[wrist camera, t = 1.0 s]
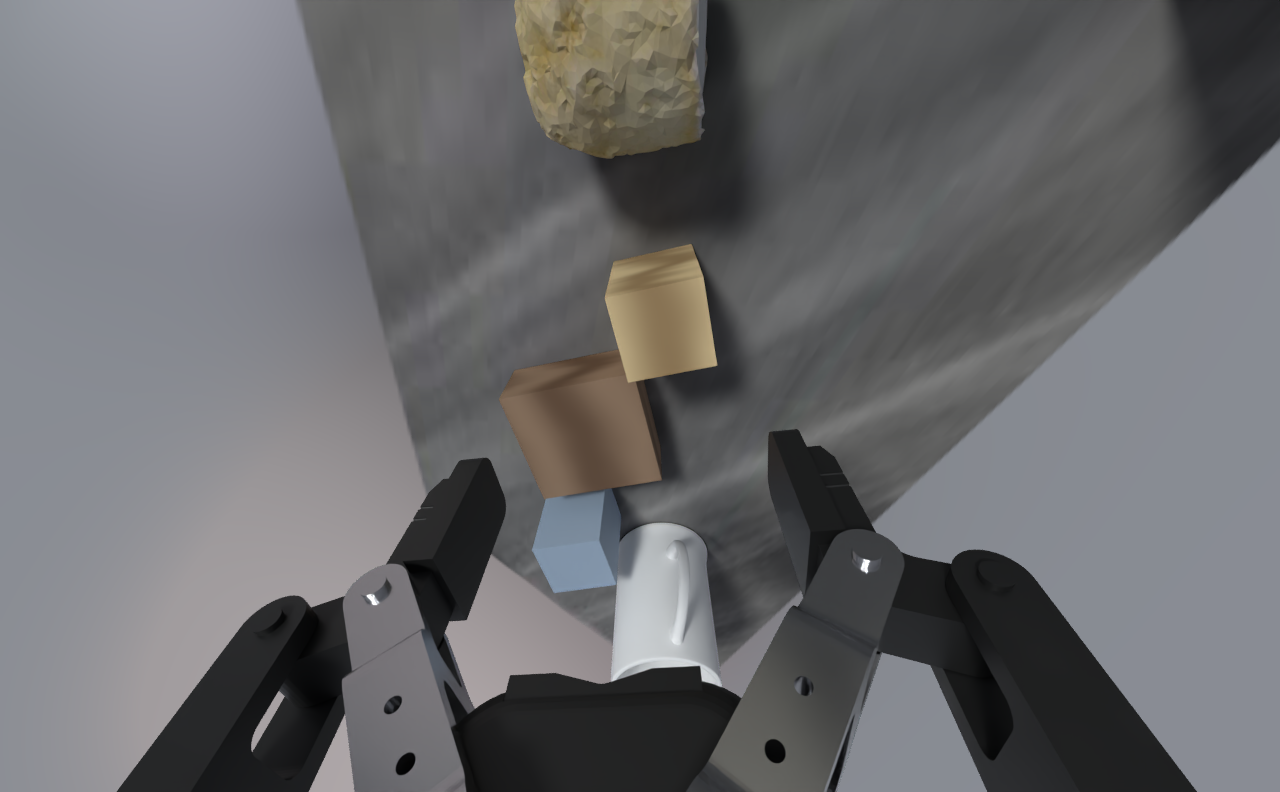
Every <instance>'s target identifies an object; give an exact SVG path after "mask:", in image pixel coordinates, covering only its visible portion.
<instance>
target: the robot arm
mask: <svg viewBox="0 0 1280 792" xmlns="http://www.w3.org/2000/svg"><path fill="white" fill-rule="evenodd" d="M768 483H769V489H770V494H771V498H772V501H773V504H774V507H775V510H776V513H777V516H778V520H779V523H780V526H781V529H782V532H783V535H784V538H785V541H786V544H787V548H788V551H789V554H790V557H791V560H792V563H793V566H794V569H795V573H796V576H797V579H798V582H799V585H800V588H801V591H802V594H803V600H802V601H801V603H800V605H799V606H798V607H796V606H792V607H791V608H790V609H789V611H788V612H787V614H786V616H785V617H784V620H783V621H782V623H781V625H780V627H779V629H778V631H777V633H776V634H775V636H774V638H773V640H772V642H771V644H770V646H769V648H768V650H767V652H766V653H765V655H764V657H763V659H762V661H761V663H760V665H759V667H758V668H757V670H756V672H755V674H754V676H753V678H752V680H751V682H750V683H749V685H748V687H747V689H746V691H745V693H744V695H743V697H742V698H740V697H739V696H737V695H736V694H734V693H732V692H730V691H728V690H727V689H725V688H722V687H720V686H717V685H715V684H712V683H708V682H704V681H702V677H701V668H700V666H686V667H666V668H651V669H648V670H645V671H642V672H639V673H636V674H633V675H630V676H627V677H624V678H621V679H618V680H615V681H612V682H609V683H605V684H597V683H593V682H589V681H585V680H581V679H577V678H573V677H569V676H565V675H561V674H556V673H549V674H530V675H511V676H510V678H509V682H508V686H507V690H506V693H503V694H500V695H498V696H496V697H494V698H492V699H490V700H488V701H486V702H485V703H483V704H481V705H480V706H478V707H477V708H476V709H475V708H474V706H473V704H472V702H471V700H470V697H469V695H468V692H467V690H466V687H465V685H464V681H463V679H462V676H461V674H460V671H459V668H458V665H457V662H456V660H455V657H454V654H453V651H452V649H451V646H450V643H449V640H448V638H447V636H446V634H445V630H446V627H447V625H448V623H449V621H461V620H467V617H468V615H469V612H470V609H471V607H472V604H473V601H474V599H475V596H476V593H477V591H478V588H479V585H480V582H481V580H482V577H483V574H484V572H485V568H486V566H487V563H488V561H489V558H490V555H491V553H492V550H493V547H494V545H495V542H496V539H497V536H498V534H499V531H500V528H501V526H502V523H503V520H504V517H505V512H506V502H505V497H504V494H503V491H502V489H501V486H500V484H499V481H498V479H497V476H496V474H495V471H494V468H493V466H492V463H491V461H490V460H489V459H488V458H478V459H468V460H461V461H459V462H458V464H457V465H456V467H455V469H454V470H453V472H452V474H451V476H450V478H449V479H443V480H442V481H441V482H440V483H439V484H438V485H437V486H435V487H434V488H433V489H432V490H431V491H430V492H429V493H428V495H427V497H426V498H425V500H424V502H423V503H422V505H421V509H420V510H418V512H417V513H416V515H415V517H414V521H413V522H411V524H410V525H409V527H408V528H407V530H406V532H405V534H404V535H403V537H402V539H401V540H400V542H399V544H398V545H397V547H396V549H395V550H394V552H393V554H392V556H391V557H390V559H389V561H388V562H387V564H386V565H382V566H379V567H377V568H374V569H372V570H371V571H369V572H367V573H366V574H364V575H363V576H362V577H360V578H359V579H358V580H357V581H356V582H355V583H354V584H353V585H352V586H351V587H350V589H349V590H348V591H347V593H346V595H345V596H344V597H341V598H338V599H335V600H332V601H329V602H326V603H323V604H320V605H317V606H315V607H312V608H311V607H310V606H309V604H308V603H307V602H306V601H305V600H304V599H303V598H302V597H300V596H287V597H283V598H280V599H278V600H275V601H273V602H271V603H269V604H267V605H266V606H264V607H262V608H261V609H260V610H258V611H257V612H256V613H254V614H253V615H252V616H251V617H250V618H249V619H248V620H247V621H246V622H245V623H244V624H243V625H242V627H241V628H240V629H239V630H238V632H237V633H236V634H235V636H234V637H233V638H232V640H231V641H230V642H229V644H228V645H227V646H226V648H225V649H224V650H223V652H222V653H221V654H220V655H219V657H218V658H217V659H216V661H215V662H214V664H213V665H212V666H211V667H210V669H209V670H208V671H207V673H206V674H205V675H204V677H203V678H202V679H201V681H200V682H199V683H198V685H197V686H196V687H195V689H194V690H193V691H192V693H191V694H190V695H189V697H188V698H187V699H186V701H185V702H184V703H183V704H182V706H181V707H180V708H179V710H178V711H177V713H176V714H175V715H174V716H173V718H172V719H171V721H170V722H169V723H168V724H167V726H166V727H165V728H164V730H163V731H162V732H161V734H160V735H159V736H158V738H157V739H156V740H155V742H154V743H153V744H152V746H151V747H150V748H149V750H148V751H147V752H146V754H145V755H144V756H143V758H142V759H141V760H140V761H139V763H138V764H137V765H136V767H135V768H134V769H133V771H132V772H131V773H130V775H129V776H128V777H127V779H126V780H125V781H124V783H123V784H122V785H121V787H120V788H119V789H118V791H117V792H309V790H310V787H311V785H312V783H313V781H314V779H315V777H316V775H317V773H318V770H319V768H320V766H321V764H322V762H323V760H324V758H325V755H326V753H327V751H328V749H329V747H330V745H331V742H332V740H333V738H334V736H335V734H336V732H337V730H338V727H339V725H340V723H341V721H342V719H343V717H344V714H345V716H346V724H347V732H348V740H349V748H350V757H351V764H352V773H353V781H354V790H355V792H837V789H838V786H839V783H840V780H841V777H842V774H843V771H844V768H845V765H846V762H847V759H848V756H849V753H850V749H851V746H852V743H853V739H854V736H855V732H856V729H857V726H858V723H859V719H860V717H861V714H862V711H863V708H864V705H865V702H866V699H867V696H868V693H869V690H870V687H871V684H872V681H873V678H874V675H875V672H876V669H877V666H878V663H879V660H880V657H881V654H882V652H883V653H886V654H890V655H894V656H898V657H902V658H906V659H909V660H913V661H917V662H921V663H925V664H929V665H931V668H932V670H933V672H934V674H935V676H936V679H937V681H938V683H939V685H940V688H941V690H942V692H943V694H944V696H945V699H946V701H947V703H948V705H949V708H950V710H951V712H952V714H953V716H954V718H955V721H956V723H957V725H958V728H959V730H960V732H961V734H962V736H963V739H964V741H965V743H966V745H967V747H968V750H969V752H970V754H971V756H972V758H973V761H974V763H975V765H976V767H977V770H978V772H979V774H980V776H981V779H982V781H983V783H984V785H985V787H986V790H987V792H1197V791H1196V790H1195V789H1194V787H1193V786H1192V785H1191V783H1190V782H1189V781H1188V779H1187V778H1186V777H1185V775H1184V774H1183V773H1182V771H1181V770H1180V769H1179V768H1178V766H1177V765H1176V764H1175V762H1174V761H1173V760H1172V758H1171V757H1170V756H1169V755H1168V753H1167V752H1166V751H1165V749H1164V748H1163V747H1162V745H1161V744H1160V743H1159V741H1158V740H1157V739H1156V737H1155V736H1154V735H1153V733H1152V732H1151V731H1150V729H1149V728H1148V727H1147V725H1146V724H1145V723H1144V722H1143V720H1142V719H1141V718H1140V716H1139V715H1138V714H1137V712H1136V711H1135V710H1134V708H1133V707H1132V706H1131V704H1130V703H1129V702H1128V701H1127V699H1126V698H1125V697H1124V695H1123V694H1122V693H1121V691H1120V690H1119V689H1118V688H1117V686H1116V685H1115V683H1114V682H1113V681H1112V680H1111V678H1110V677H1109V676H1108V674H1107V673H1106V672H1105V670H1104V669H1103V668H1102V666H1101V665H1100V664H1099V662H1098V661H1097V660H1096V658H1095V657H1094V656H1093V655H1092V653H1091V652H1090V651H1089V649H1088V648H1087V647H1086V645H1085V644H1084V643H1083V641H1082V640H1081V639H1080V638H1079V636H1078V635H1077V633H1076V632H1075V631H1074V630H1073V628H1072V627H1071V626H1070V624H1069V623H1068V622H1067V621H1066V619H1065V618H1064V616H1063V615H1062V614H1061V612H1060V611H1059V610H1058V609H1057V607H1056V606H1055V605H1054V603H1053V602H1052V601H1051V599H1050V598H1049V597H1048V595H1047V594H1046V593H1045V591H1044V590H1043V589H1042V588H1041V586H1040V585H1039V584H1038V582H1037V581H1036V580H1035V578H1034V577H1033V576H1032V575H1031V574H1030V573H1029V572H1028V571H1027V570H1026V569H1025V568H1024V567H1022V566H1021V565H1019V564H1018V563H1016V562H1015V561H1013V560H1011V559H1009V558H1007V557H1005V556H1003V555H1000V554H997V553H994V552H990V551H985V550H967V551H964V552H961V553H959V554H958V555H957V556H955V558H954V559H953V561H952V564H948V563H943V562H938V561H933V560H927V559H922V558H917V557H913V556H910V555H907V554H904V553H902V552H901V551H900V550H899V549H898V547H897V546H896V545H895V544H894V543H893V542H892V541H890V540H889V539H888V538H886V537H884V536H882V535H880V534H878V533H876V532H875V530H874V528H873V526H872V524H871V523H870V521H869V519H868V517H867V515H866V513H865V512H864V510H863V508H862V506H861V504H860V502H859V501H858V499H857V497H856V495H855V493H854V492H853V490H852V488H851V486H849V482H848V481H847V479H846V477H845V475H844V474H843V471H842V470H841V468H840V466H839V464H838V462H837V460H836V459H835V457H834V456H832V455H831V454H830V453H829V452H827V451H826V450H825V449H824V448H822V447H821V446H812V447H807V446H806V444H805V442H804V440H803V438H802V436H801V434H800V432H799V430H797V429H794V430H783V431H773V432H769V438H768ZM278 691H280V692H281V693H282V694H283V695H284V696H285V697H284V699H283V701H282V702H281V704H280V706H279V708H278V709H277V711H276V713H275V715H274V716H273V718H272V720H271V721H270V723H269V725H268V726H267V728H266V730H265V731H264V733H263V735H262V737H261V738H260V740H259V742H258V743H257V745H256V747H255V749H254V750H253V752H252V751H251V742H252V737H253V734H254V732H255V729H256V728H257V726H258V724H259V722H260V721H261V719H262V718H263V716H264V714H265V712H266V711H267V709H268V707H269V706H270V704H271V702H272V701H273V699H274V697H275V696H276V694H277V693H278Z"/></svg>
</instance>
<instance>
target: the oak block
mask: <svg viewBox="0 0 1280 792" xmlns="http://www.w3.org/2000/svg"><path fill="white" fill-rule="evenodd" d="M605 301H606V305H607V308H608V312H609V315H610V319H611V323H612V326H613V330H614V334H615V337H616V341H617V344H618V348H619V352H620V355H621V359H622V363H623V366H624V370H625V373H626V377H627V381H628V383H629V382H635V381H640V380H645V379H650V378H655V377H661V376H666V375H671V374H676V373H682V372H687V371H692V370H697V369H702V368H708V367H713V366H717V361H716V354H715V348H714V342H713V335H712V329H711V322H710V316H709V309H708V303H707V297H706V290H705V284H704V277H703V274H702V272H701V269H700V266H699V263H698V261H697V258H696V255H695V252H694V250H693V247H692V244H689V245H685V246H681V247H676V248H672V249H667V250H663V251H659V252H654V253H650V254H645V255H641V256H637V257H632V258H628V259H623V260H619V261H614V262H613V266H612V270H611V275H610V279H609V283H608V287H607V291H606V295H605Z"/></svg>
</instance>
